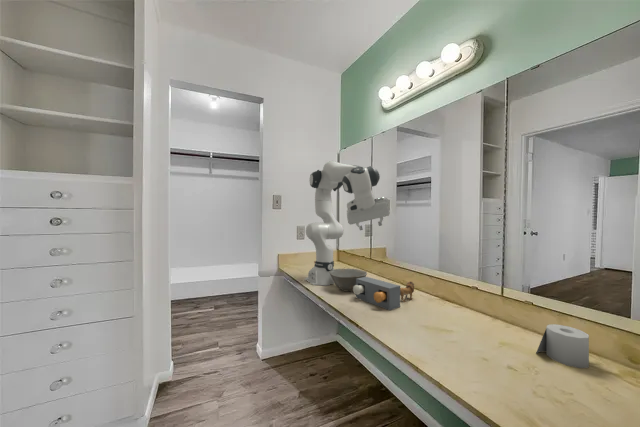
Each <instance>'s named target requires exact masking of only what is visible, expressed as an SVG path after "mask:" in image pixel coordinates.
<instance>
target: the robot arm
mask: <svg viewBox="0 0 640 427" xmlns="http://www.w3.org/2000/svg"><path fill="white" fill-rule="evenodd" d="M380 177H381V174H380V172H379V171H378V169H377V168H375V167H373V166H372V165H370V166H367V167H364V166H360V165H355V164H354V165H353V164H345V163H341V162H338V161H334V160H332V161H327V162H325V164H324V165H323V168H322V170H320V169H317V170H316V171H313V172H312V173H311V174H310V176H309V181H308V182H309V185H310V187H312V188H313V189H315V192H314V209H315V210H314V212H315V215H316V216H317V217H319V218H321V220H322V221H323V222H312V223H309V224H308V225H307V226H306V228H305V235H306V236H307V238H308V239H309V240H311V242H312V243H313V246H314V247H315V256H316V257H315V259H316V260H314V261H313V264H314V266H312V268H311V269H309V271H308V273H307V277H305V278H304V281H306V280H307V281H308V283H309V282H310V283H311V285H312V284H313V285H312V286H331V285H330V284H333V285H335V284H334V281H333V279H332V277H331V275H330V273H329V271H331V270H334V269H335V268H334V266H335V261H334V248H333V247H332V246H331V245H329V244H327V242H326V240H336V239H340V238H342V237H343V235H344V227H343V224H341V223H340V222H339V221H338V220H337V219H336V217H335V215H334V212H333V204H332V203H333V202H332V191H333V192H336V191H337V190H339V189H341V188H343V190H344V192H346V193H348V194H350V195H351V194H353V195H354V199H352V200H351V201H349V202H347V204H346V208H347V210H346V218H347V223H348V224H349V225H350V226H351V225H356V226H357V227H358V229H359V231H363V230H364V228H363V226H362V225H360V223H363V222H364V223H365V222H367V221H371V220H376V219H379V220H378V221H377V224H378V226H379V227H380V226H383V223H382V222H383V221H384V217H389V216H390V213H391V211H390V208H389V200H388V198H387V197H384V196H382V197H378V198H377V197H376V198H375V196H374V192H373V190H372V187H377V185H378V183H379V181H380ZM307 281H306V282H307ZM310 283H309V284H310Z"/></svg>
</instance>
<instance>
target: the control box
mask: <svg viewBox="0 0 640 427" xmlns="http://www.w3.org/2000/svg"><path fill="white" fill-rule="evenodd" d="M356 285H364V286H365V292H364V293H360V294H359V295H356V294H355V298H356V299H358V300H361V301H364V302H367V303H370V304H372V305H374V306H377V307H380V308H381V309H385V310H387V311H391V310H395V309H398V308H400V307H401V295H400V288H401V285H398V284H396V283H392V282H388V281H385V280H380V279H377V278H373V277H369V276H366V277H362V278H357V279H356ZM382 291H384V292H386V293H387V299H386V300H384V301H382V302H380V303H377V302H376V301H375V300H374V293H375V292H382Z"/></svg>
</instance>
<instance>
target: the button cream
mask: <svg viewBox="0 0 640 427" xmlns="http://www.w3.org/2000/svg"><path fill="white" fill-rule="evenodd" d="M352 292H353V293H354V294H355V296H356V295H359V294H360V293H364V292H365V286H364V285H355V286H354V287H353V291H352Z"/></svg>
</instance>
